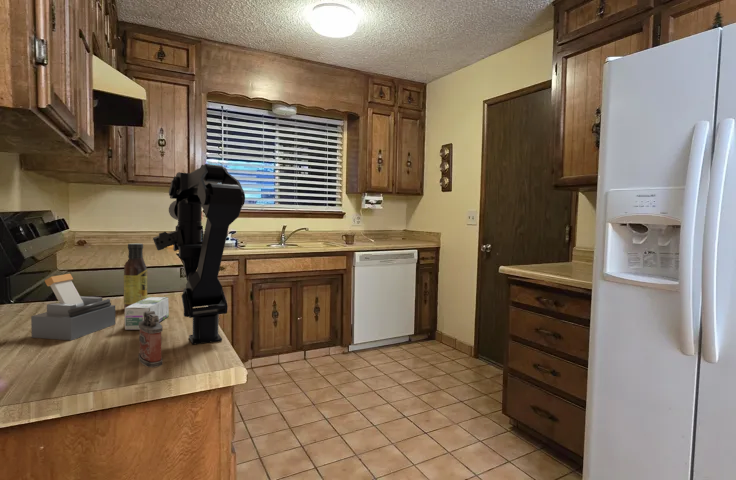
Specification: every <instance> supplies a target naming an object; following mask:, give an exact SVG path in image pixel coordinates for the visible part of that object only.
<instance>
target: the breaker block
mask: <svg viewBox="0 0 736 480" xmlns="http://www.w3.org/2000/svg"><path fill="white" fill-rule="evenodd" d="M80 297H81V299H82V301H83V303H84V306H80V307H77V308H76V304H61V303H58V302H50V303H47V304H46V311H45V312H42V313H38V314H34V315H31V316H30V317H31V318H30V319H31V326H30V327H31V338H33V339H34V338H35V339H49V340H64V341H73V340H76V339H78V338H81V337H84V336H87V335H89V334H92V333H95V332H99V331H100V330H103V329H106V328H108V327H112V326H114V325H116V305H113V304H112V302H111V299H109V298H105V299H103V297H101V296H100V297H99V296H84V295H83V296H82V295H80Z"/></svg>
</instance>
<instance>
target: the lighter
mask: <svg viewBox="0 0 736 480" xmlns="http://www.w3.org/2000/svg"><path fill="white" fill-rule="evenodd" d="M158 322H159V317H158V316H157V315H156V314H155V311H146V312H144V321H140V322H139V328H140V329H139V338H138V339H139V353H138V360H139V362H140V363H141V364H142V365H143V366H145V367H148V368H157V367H161V366H162V365H163V358H162V332H163V325H162V323H161V322H159V323H158Z"/></svg>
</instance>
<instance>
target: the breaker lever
mask: <svg viewBox="0 0 736 480" xmlns="http://www.w3.org/2000/svg"><path fill="white" fill-rule="evenodd" d="M72 280H74V278H73V276H72V274H71V273H65V274H59V275H58V274H57V275H52V276H50V277H47V278H45V280H44V283H45V284H46V286H47V287H50V288H51V290H52V291H53V293H54V295H55V298H56V299H57V301H58V302H59V303H61V304H76V308H77V307H80V306H84V303H83V301H82V299H81V297H80V296H81V295H80V293H79V292H78V290H77V288H76V287H75V285H74V282H73V281H72Z"/></svg>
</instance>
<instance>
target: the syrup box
mask: <svg viewBox="0 0 736 480" xmlns="http://www.w3.org/2000/svg"><path fill="white" fill-rule="evenodd" d="M146 311H155V314H156V315H157V316H158V317H159V322H158V323H161V322H162V321H163V320H165V319H167V318H168V317H169V312H170V311H169V297H168V296H147V298H145V299H143V300H141V301H138V302H136V303H134V304H132V305H130V306H128V307H126V308H124V331H125V330H132V331H133V330H140V328H139V322H140V321H144V312H146Z"/></svg>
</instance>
